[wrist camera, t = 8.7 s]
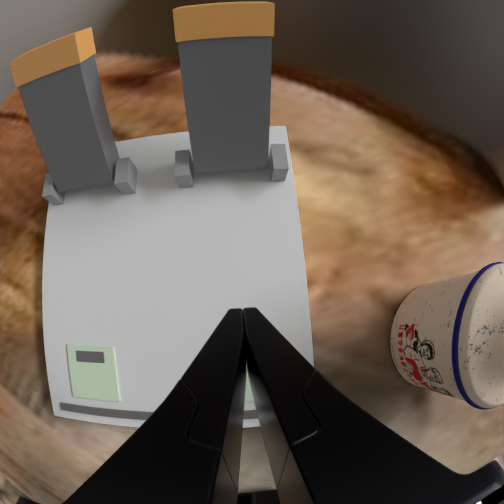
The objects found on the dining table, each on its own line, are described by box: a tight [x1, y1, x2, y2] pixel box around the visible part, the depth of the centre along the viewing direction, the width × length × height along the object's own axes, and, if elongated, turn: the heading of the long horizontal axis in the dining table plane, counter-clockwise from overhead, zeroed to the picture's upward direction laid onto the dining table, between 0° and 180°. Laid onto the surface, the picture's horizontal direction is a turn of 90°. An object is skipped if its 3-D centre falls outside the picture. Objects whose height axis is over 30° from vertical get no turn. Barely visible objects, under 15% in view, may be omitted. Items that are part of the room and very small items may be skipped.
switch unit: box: [42, 126, 314, 428], centre depth 20 cm, size 22×20×4 cm
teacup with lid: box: [390, 262, 504, 409], centre depth 15 cm, size 12×9×12 cm
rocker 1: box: [10, 27, 120, 192], centre depth 16 cm, size 3×5×11 cm, turn 95°
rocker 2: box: [173, 2, 275, 173], centre depth 16 cm, size 3×5×11 cm, turn 95°
